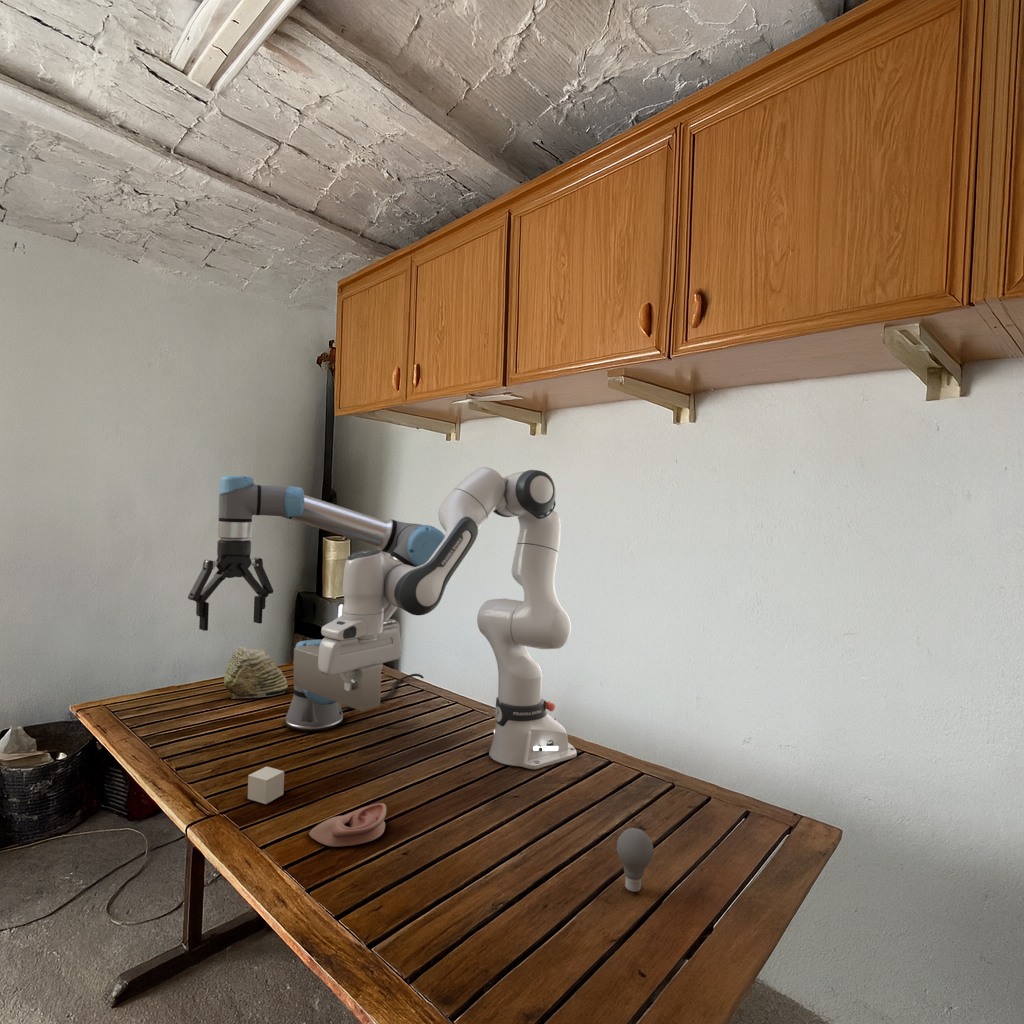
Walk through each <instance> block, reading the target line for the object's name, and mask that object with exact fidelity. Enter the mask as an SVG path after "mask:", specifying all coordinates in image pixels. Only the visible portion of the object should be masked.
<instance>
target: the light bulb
mask: <svg viewBox="0 0 1024 1024" xmlns="http://www.w3.org/2000/svg"><path fill="white" fill-rule="evenodd" d="M616 852H617V856H618V858H619V860H620V862H621V864H622V866H623V872H624V875H625V882H624V887H625V889H627V890H628V891H630V892H633V893H634V892H635V893H636V892H639V891H641V889H642V878H643V876H644V875H645V869H646V868H647V867H648V865H649V864H650V862H651V860H652V858H653V855H654V845H653V842H652V840H651V838H650V836H649V835H648V834H647V832H645V831H644V830H642V829H640V828H636V827H629V828H627V829H625V830H624V831H623V832H622V833H620V835H619V836H618V839H617V841H616Z"/></svg>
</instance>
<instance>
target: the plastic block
mask: <svg viewBox="0 0 1024 1024" xmlns="http://www.w3.org/2000/svg"><path fill="white" fill-rule="evenodd" d="M247 776H248V777H247V779H248V780H247V800H250V801H254V802H257V803H260V804H264V805H268V804H269V803H271V802H273V801H274V800H276V799H278V798H279V797H282V796H283V795H284V793H285V792H284V789H285V788H284V787H285V771H284V770H281V769H278V768H274V767H270V766H265V767H262V768H260V769H258V770H256V771H254V772H252V773H250V774H248V775H247Z"/></svg>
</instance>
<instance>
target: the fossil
mask: <svg viewBox="0 0 1024 1024" xmlns="http://www.w3.org/2000/svg"><path fill="white" fill-rule="evenodd" d="M231 655H232V656H231V658H230V659H229V661H228V663H227V666H226V669H225V673H224V677H223V678H224V679H223V686H224V687H225V688H226V689H227V691H228V692H229V693H230V696H231V697H230V698H231V699H233V700H234V699H235V700H236V699H237V700H238V699H252V698H253V699H255V698H258V699H259V698H266V697H273V696H274V697H275V696H277V695H282V694H285V693H286V691H287V690H288V687H289V685H288V680H287V678H286V676H285V674H284V673H283V671H282V669H280V668H279V667H278V666H277V663H276V661H274V659H273V658H272V657H271V656H270V655H269V654H268V653H267V651H265V649H263V648H255V649H254V648H251V647H247V646H239V647H238V648H237V649H236V650H235V651H233V654H231Z"/></svg>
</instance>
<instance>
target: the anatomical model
mask: <svg viewBox="0 0 1024 1024" xmlns="http://www.w3.org/2000/svg"><path fill="white" fill-rule="evenodd" d="M386 816H387V805H386V804H385V803H383V802H378V803H373V804H370V805H368V806H364V807H360V808H358V809H355V810H353V811H351V812H348V813H346V814H344V815H343V814H342V815H337V816H333V817H331V818H328V819H326V820H323V821H322V822H320V823H318V824H317V825H315V826H314V827H313V828H311V830H309V832H308V835H309V837H310V838H311V839H313V840H315V841H316V842H318V843H319V844H321V845H325V846H327V847H333V848H335V847H348V846H349V847H350V846H357V845H361V844H365V843H368V842H372V841H374V840H376V839H378V838H380V837H381V836H382V835H383V834H384V832H385V829H386V822H385V819H386Z"/></svg>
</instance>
